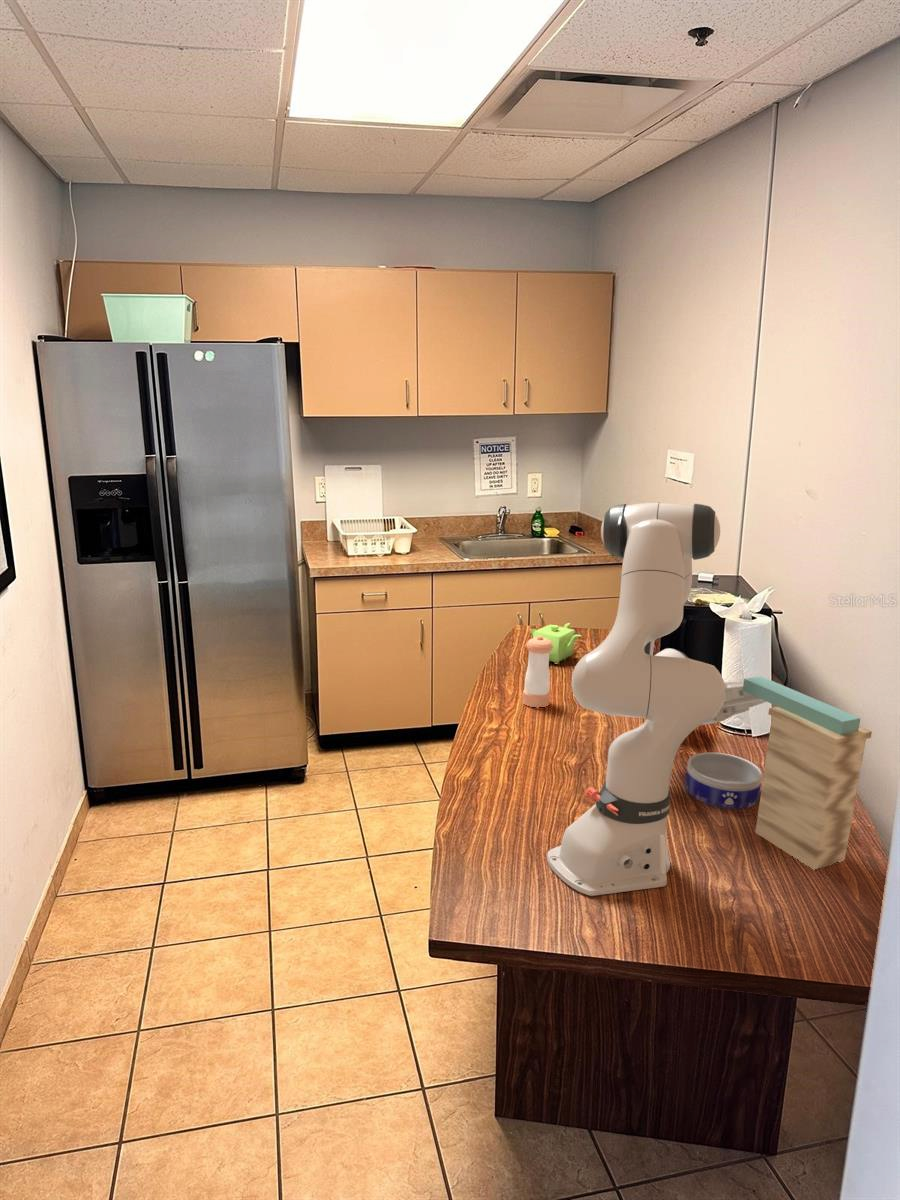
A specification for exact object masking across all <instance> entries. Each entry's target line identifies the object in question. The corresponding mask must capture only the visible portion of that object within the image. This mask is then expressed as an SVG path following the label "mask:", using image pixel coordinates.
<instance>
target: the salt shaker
mask: <svg viewBox="0 0 900 1200" xmlns="http://www.w3.org/2000/svg"><path fill="white" fill-rule="evenodd" d="M526 648H527V651H528V659H527V661H528V662H527V668H526V673H525V677H524V689H523V691H522V702H523V703H522V705H524V704H525V705H527V706H531V707H545V708H547V707H546V706H547V705H550V699H551V698H550V697H551V696H550V695H551V692H550V680H551V679H550V669H549V665H550V661H549V652H551V650H552V648H553V645H552V643H551V641H550V640H548V639H546V638H543V637H542V636H538V637H536V638H533V637H532V638H530V639H528V641H527V642H526ZM525 705H524V706H525ZM527 706H526V707H527ZM531 707H530V708H531Z"/></svg>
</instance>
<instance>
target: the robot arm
mask: <svg viewBox="0 0 900 1200" xmlns="http://www.w3.org/2000/svg"><path fill="white" fill-rule="evenodd" d="M600 526H601V527H600V537H601V540H602V541H601V542H602V543H603V546H604V550H605V551H606V552H607V553H608V554H609V556H611V557H614V558H619V559H622V567H621V574H620V589H619V590H620V593H619V601H618V606H617V607H618V608H617V611H616V613H617V614H616V618H615V621H614V624H613V626H612V628H611V630H610V632H609V633H608V635H607V636H606V638H605V639H604V640H603V641H602V642H601V643H600V644H599V645H598V646H597V647H596V648H594V649H593V650H592V651H590V652H588V653H586V654H585V655H583V656H582V657H581V658H580V659H579V660H578V662H577V663H576V665H575V667H574V669H573V672H572V675H571V690H572V693H573V695H574V698H575V700H576V702H577V703H578V705H579V706H580V707H581V708H583V709H586V710H588V711H592V712H596V713H600V714H603V715H606V716H608V715H609V716H615V717H616V716H618V717H627V718H628V717H629V718H636V719H637V718H639V719H645V721H644V722H643V723H642V724H641V725H639V726H638V727H636V728H634V729H631V730H628V731H625V732H623V733H622V734H620V735H618V736H617V737H616V738H614V740H613V741H612V743H611V744H610V745H609V748H608V754H607V765H606V776H605V781H604V782H603V784H602V786H601V788H600V791H598V790H596V789H595V788H594V787H592V786H590V787H588V788H587V789H586V790H585V793H584V794H585V796H586V798H588V799H590V800H591V802H595V803H594V805H593V806H591V807H590V808H589V809H588V810H587V811H585V812H584V813H583V814H582V815H580V817H578V818H577V819H576V820H575V821H573V822H572V823H571V824H570V825H569V826H567V828H566V829H565V830H564V832H563V836H562V839H561V843H560V845H558V846H556V847H554V848H551V849H549V850H548V851H547V853H546V860H547V864H548V866H549V867H550V869H551V870H552V871H553V873H554V874H555V875H556V876H557V877H558V878H559V879H560V880H562V881H563V882H564V883H565V884H566V885H567V886H569V887H571V888H572V889H574V890H576V891H577V892H578V893H582V894H584V895H587V896H589V897H593V896H602V895H609V894H617V893H622V892H623V893H624V892H631V891H639V890H647V889H655V888H662V887H666V886H667V885H668V877H667V873H668V872H669V871H670V868H671V861H670V856H669V852H668V851H669V850H668V839H667V817H668V815H669V814H670V808H671V797H672V794H671V790H670V784H671V778H672V777H671V776H672V772H673V766H674V761H675V757H676V755H677V753H678V750H679V748H680V747H681V745H682V744H683V743H684V740H685V739H686V738H687V737H689V735H690V734H691V733H692V732H693V731H694V730H696V729H697V728H698V727H700V726H706V725H711V724H715V723H720V722H721V723H722V722H724V721H726V720H728V719H729V718H732V717H733V716H735V715H737V714H741V713H745V712H748V711H749V710H750V708H752V707H756V706H757V705H761V704H763V703H764V704H765V703H766V701H764V700H762V699H760V698H758V697H755V696H753V695H751V694H749V693H747V692H744V691H743V684H744V682H742V681H732V682H731V681H729V682H726V681H724V678H723V677H722V675H721V673H720V671H719V669H717V668H716V666H715V665H712V664H709V663H708V662H707V663H706V662H703V661H699V660H695V659H692V658H689V657H688V655H686V654H685V653H684V652H683V651H681V650H678V649H676V648H670V647H666V648H664V649H662V650H661V651H659V652H657V653H656V654H654V647H655V642H656V640H657V639H660V638H662V637H664V636H667V635H669V634H671V633H673V632H674V631H676V630H677V629H678V628H679V627H680V626H681V623H682V621H683V619H684V605H685V603H687V601H688V599H689V597H690V593H691V590H692V587H693V586H692V585H693V561H694V560H695V561H696V560H697V561H698V560H701V559H705V558H708V557H710V556H711V555H713V553H714V552H715V550H716V547H717V545H718V544H719V541H720V537H721V524H720V521H719V518H718V516H717V515H716V511H715V510H714V509H713V508H712V506H709V505H706V504H701V503H694V504H687V503H685V504H684V503H673V502H672V503H670V502H666V503H665V502H656V501H655V502H643V503H642V502H641V503H633V504H627V503H622V504H618V505H614V506H610V508H609V509H608V510H607V511H606V512H605V513H604V517H603V520H602V522H601V525H600ZM692 559H693V561H692Z"/></svg>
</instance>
